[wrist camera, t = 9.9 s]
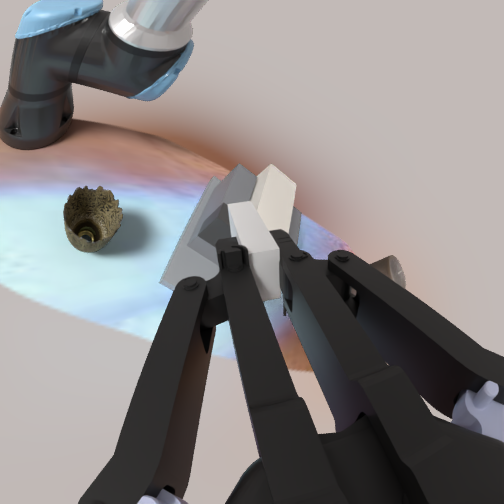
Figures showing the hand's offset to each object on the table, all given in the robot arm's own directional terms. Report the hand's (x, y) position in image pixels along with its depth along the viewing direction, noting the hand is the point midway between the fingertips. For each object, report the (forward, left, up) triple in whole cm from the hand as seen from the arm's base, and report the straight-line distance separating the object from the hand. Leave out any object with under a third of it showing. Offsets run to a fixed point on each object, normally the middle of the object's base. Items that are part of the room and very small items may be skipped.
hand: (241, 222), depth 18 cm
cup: (-12, -2, -24) cm, 27 cm away
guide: (-1, +19, -24) cm, 31 cm away
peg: (-3, +23, -19) cm, 29 cm away
